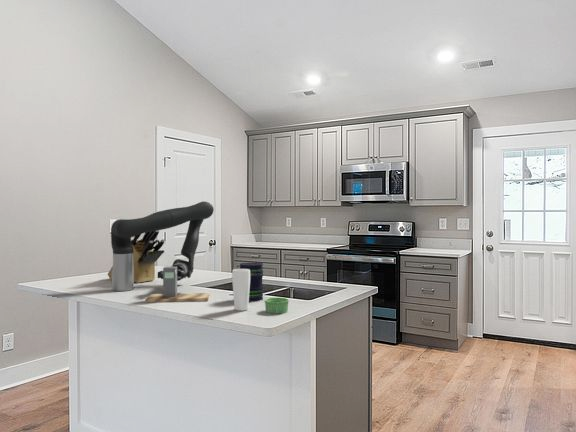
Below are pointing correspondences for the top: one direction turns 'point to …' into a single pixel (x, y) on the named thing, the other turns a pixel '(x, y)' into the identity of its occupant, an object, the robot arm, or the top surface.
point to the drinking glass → (241, 288)
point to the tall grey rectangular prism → (169, 281)
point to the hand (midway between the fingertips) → (172, 276)
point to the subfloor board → (179, 297)
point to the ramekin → (276, 305)
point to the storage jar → (255, 280)
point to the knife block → (145, 256)
